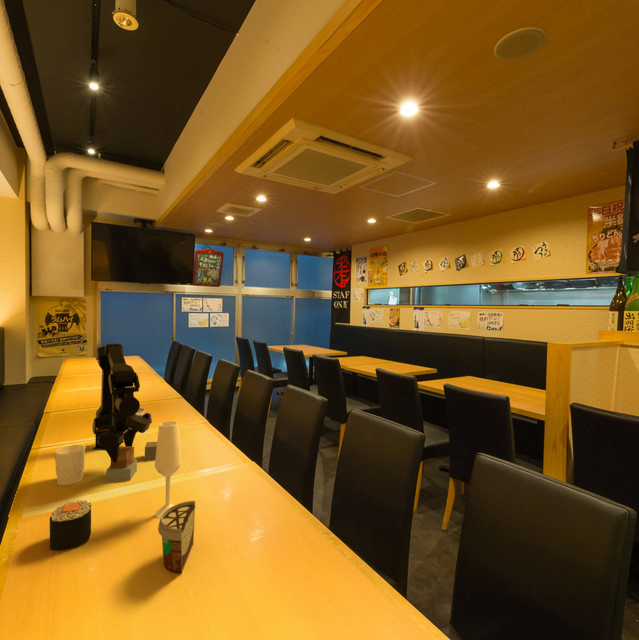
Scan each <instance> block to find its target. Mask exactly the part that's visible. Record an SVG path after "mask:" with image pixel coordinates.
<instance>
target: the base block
mask: <svg viewBox="0 0 639 640" xmlns="http://www.w3.org/2000/svg"><path fill="white" fill-rule="evenodd" d="M137 469H138V460H137V459H134V462H133V463H132V464H131V465H129V466H128V467H127V468H111V464H110V465H109V466H108V468H106V470H105V471H106V472H105V474H106V479H105V480H106V481H105V482H106V483H107V482H109V483H110V482H125V481H128V482H129V481H132V479H133V477H134V476H135V474H136V473H137V471H138V470H137Z"/></svg>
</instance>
